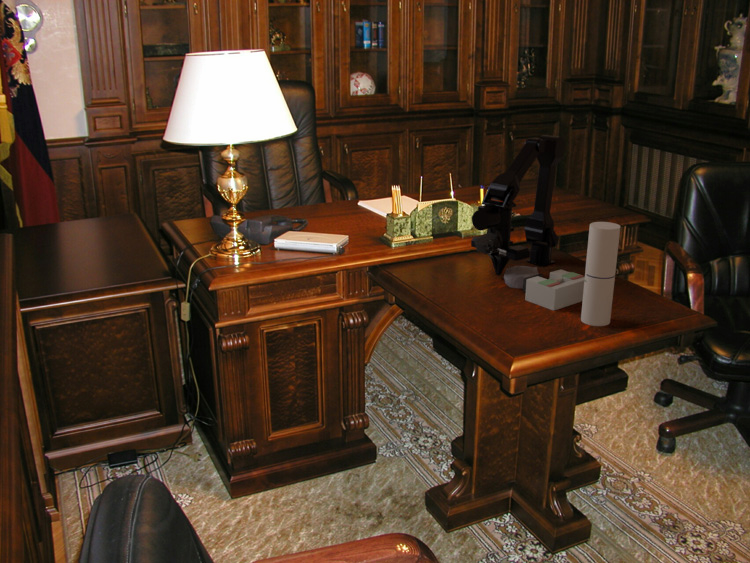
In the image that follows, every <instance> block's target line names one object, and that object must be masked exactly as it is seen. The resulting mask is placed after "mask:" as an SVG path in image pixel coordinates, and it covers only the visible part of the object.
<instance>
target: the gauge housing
mask: <svg viewBox="0 0 750 563" xmlns="http://www.w3.org/2000/svg"><path fill="white" fill-rule="evenodd" d="M557 278H563V280H562V284H561V283H560V282H557V281H554V279H557ZM584 281H585V275H582V274H579V273H576V272H573V271H566V270H564V269H558V270H554V271H553V270H552V271H551V272H549V277H548V279H547V278H544V277H543V278H542V277H539V276H536V277H533V278H529V279H527V280H526V292H525V299H524V300H525V301H527V302H529V303H532V304H535V305H538V306H540V307H543V308H545V309H547V310H550V311H553V312H554V311H557V310H559V309H563V308H566V307H569V306H571V305H575V304H578V303H581V302H583V291H584Z"/></svg>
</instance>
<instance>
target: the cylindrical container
mask: <svg viewBox="0 0 750 563" xmlns="http://www.w3.org/2000/svg"><path fill="white" fill-rule="evenodd" d="M588 230H589V231H588V241H587V251H586V259H585V260H586V261H585V269H584V270H585V271H584V272H585V273H584V277H585V281H584V291H583V301H581V302H582V303H581V304H582V306H581V313H580V321H581V322H582V323H583V324H585V325H589V326H592V327H605V326H608V325H609V324H611V316H612V307H613V300H614V298H613V297H614V289H615V288H614V287H615V278H616V271H617V260H618V254H619V252H618V251H619V241H620V234H621V225H620V224H618V223H614V222H610V221H595V222H594V221H593V222H591V223H590V224H589V229H588Z"/></svg>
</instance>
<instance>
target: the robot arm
mask: <svg viewBox="0 0 750 563" xmlns="http://www.w3.org/2000/svg"><path fill="white" fill-rule="evenodd" d="M566 146H567V144H566V141H565V140H564V138H563V137H562V136H557V135H547V134H542V135H540V136H539V137H528V138H526V140H525V141H524V145H523V146H522V148H521V149H520V151H519V152H518V153H517V155H516V156H515V158H514V159H513V160H512V162H511V163H510V165H509V166H508V168H507V170H506V171H505V172H503V173H500V174H498V175H497V176H496V177H495V178H494V179H493V180H492V181H491V183H490V184H489V186H488V189H487V190H486V193H485V195H484V197H483V199H482V202H481V205H479V206H478V207H477V210H476V211H474V212H473V214H472V215H471V222H472V226H473V227H474V229H476V230H477V231H480V232H481V231H485V230H486V233H485V234H481V235H477V236H473V237H472V239H471V241H470V247H472V248H475V249H476V252H479V253H482V254H484V255H487V256H488V257H490V260H491V262H492V265H493V268H494V272H495V275H496V276H500V275H501V274H502V273H503V271H504V270H505V268H506V266H507V264H508V262H509V261H510V260H512V261H515V262H516V261H521V260H524V259H526V263H530V264H533V265H537V266H539V267H544V266H548V265H552V264H555V260H552V251H553V248H555V247H557V245H558V244H559V239H560V237H559V236H558V235H557V233H556V232H555V230H554V228H555V227H554V226H555V222H554V219H553V217H552V214H551V208H552V199H553V193H554V192H553V191H554V187H555V186H554V185H555V178H556V170H557V166H558V164H559V163H560V162H561V161H562V159H563V158H564V154H565V150H566ZM536 160H537V162H538V165H539V166H538V167H539V168H538V172H537V173H538V174H537V182H536V183H537V184H536V190H535V198H534V207H533V212H532V213H531V214H530V216H526V219H525V226H524V228H523V229H524V234H525V235H524V237H525V242H526V243H529V244H531V245H530V247H531V248H528V247H526V246H523V245H521V244H519V245H516V246H512V245H514V240H511V232H514V231H515V227H514V226H512V214H513V208H516V207H517V204H516V203H515V202H514V201H515V200H516V198H517V196H518V194H519V191H520V190H521V184H520V183H521V182H522V179H523V178H524V177H525V175H526V174H527V173H528V171H529V169H530V168H531V167H532V164H533V163H534V162H535V161H536Z"/></svg>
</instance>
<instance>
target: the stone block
mask: <svg viewBox="0 0 750 563" xmlns="http://www.w3.org/2000/svg"><path fill="white" fill-rule="evenodd" d="M538 274H540V273H539V272H538V266H535V267H532V266H526V265H515V266H511V267H507V268H506V269H505V272H504V274H503V275H504V276H503V279H504V283H505V285H507V286H508V287H509V288H512V289H523V279H524V278H527V277H531V276H534V275H538Z"/></svg>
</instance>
